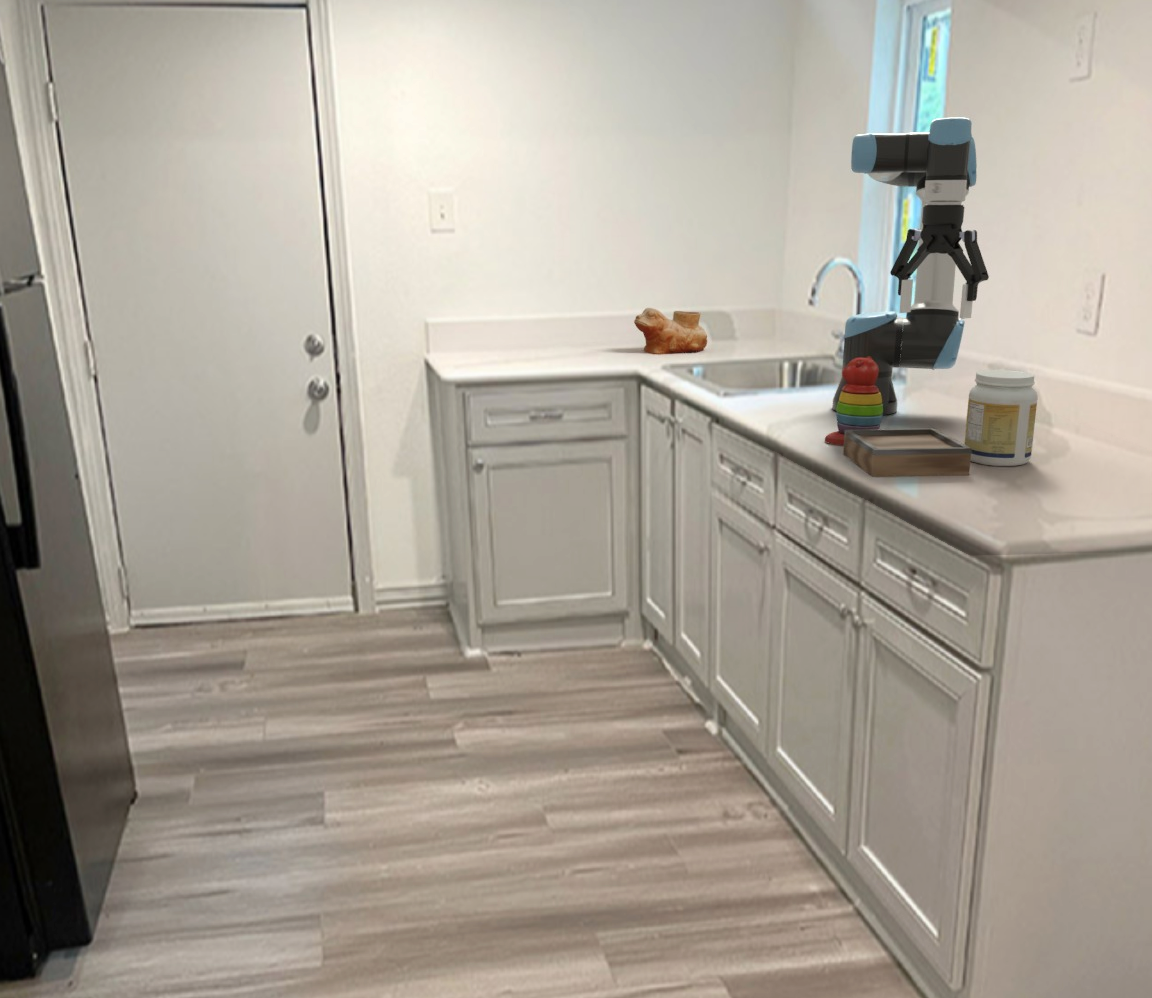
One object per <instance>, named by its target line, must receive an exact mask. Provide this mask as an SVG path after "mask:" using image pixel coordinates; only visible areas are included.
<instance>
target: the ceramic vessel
mask: <svg viewBox="0 0 1152 998" xmlns="http://www.w3.org/2000/svg"><path fill="white" fill-rule="evenodd" d="M700 318H701V313H700V312H697V311H683V310H674V311H673V314H672V319H669V318H667V317H666V316H665V314H663V313H662V312H661V311H660V310H658V309H656V308H653V307H647V308H645V309H644V310H643V311H642V313H641V314H638V315H636V316H635V319H634V321H633V323H634V325H635V327H636V328H637V330H639V331H640V332H642V334H643V336H644V339H645V345H644V347H643V351H644V352H645V353H647V354H651V355H658V356H659V355H660V356H661V355H675V354H678V355H679V354H696V353H697V354H698V353H699V352H700V353H701V352H704V350H705V348H706V346H707V344H708V338H707V337H708V335H707V333H706V331H705V330H704V328H703V327H702V326H701V325H699V323H700Z"/></svg>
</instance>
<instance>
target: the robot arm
mask: <svg viewBox="0 0 1152 998" xmlns="http://www.w3.org/2000/svg"><path fill="white" fill-rule="evenodd" d="M972 133H973V132H972V120H971V119H970V118H967V117H943V118H936V119H933V120H932V121H931V123H930V125H929V132H906V133H900V132H899V133H865V134H856V135H854V137H853V138H852V144H851V157H850V159H851V160H850V164H851V165H850V168H851V170H852V172H853V173H857V174H867V175H868V176H869V177H870V178H871V179H873V180H875V181H877V182H879V183H883V184H886V185H890V186H895V187H911V188H913V187H916V188H915V189H916V191H915V195H916V196H917V197H918V199H919V200H920V201H921V212H920V213H921V214H920V226H919V228H909V229H908V230H907V233H906V239H905V242H904V244H903V245H902V248H901V250H900V252H899V253H898V255H897V258H896V259H895V262H894V263H893V266H892V268H891V269H890V272H889V273H890V275H891V276H894V277H896V278H897V280H898V286H897V287H898V288H897V295H898V296H900V300H899V314H905V313H906V314H905V315H906V316H905V317H898V314H897V312H896V311H893V310H892V311H891V310H887V311H873V312H865V313H860V314H855V315H854V314H853V315H852V316H850V317H849V318H847V319H846V322H845V326H844V333H843V336H842V337H843V340H844V341H843V354H842V355H843V356H842V366H841V367H842V369H841V371H842V370H843V369H844V368H845V367H846V366H847V365H848V364H849V362H850V361H851V360H853V359H855V358H867V357H871V358H872V360H873V361H874V362H875V363H876V364H877V366H878V369H879V373H878V377H877V380H876V382H875V384H874V385H875V386H876V387H877V388H878V390H879V392H880V393H881V397H882V404H883V413H882V414H883V416H885V415H891V414H894V413H897V411H898V399H897V395H896V390H895V388H894V387H895V386H894V382H893V369H894V368H899V369H900V368H901V369H903V368H905V369H923V370H925V369H927V370H928V369H929V370H933V371H934V370H949V369H951V368H953V367H954V366H955V364H956V361H957V359H958V355H959V350H960V346H961V342H962V338H963V337H962V336H963V333H964V327H965V323H966V322H965V321H966V320H964V319H971V318H972V312H973V311H972V310H973V302H974V301H975V302H976V300H977V298H978V286H979V284H980V283H981V282H985V281H989V277H990V275H989V273H988V270H987V267H986V265H985V261H984V258H983V256H982V253H981V250H980V247H979V243H978V231H977V230H975V229H970V230H969V229H967V230H965V231H963V230H962V226H963V223H964V215H965V206H964V204H962V203H964V202H965V201H966V197H967V196H968V195H969V193H970V190H969V189H970V188H972V187H974V186H976V185H977V151H976V142H975V138H974V137H973V135H972ZM961 241H962V242H963V243H964V247H965V251H966V253H967V256H968V257H966V255H965V253H964V248H963V247H962V246H961V244H960V242H961ZM917 245H918V248H917V249H916V247H917ZM915 249H916V252H915V254H913V253H914V251H915ZM912 255H913V256H912ZM956 267H957V269H958V270H959V272H960V273H961V274H962V277H963V278H964V280H965V283H962V286H961V287H962V289H961V298H960V299H961V301H960V309H959V310H958V309H957V307H956V306H954V304H953V301H954V291H955V280H956V279H955V277H956ZM915 272H916V273H915ZM914 273H915V274H916V275H915V287H914V285H913V283H914V279H912V277H911V276H912V275H913V274H914ZM913 287H914V297H913V298H914V301H913V304H912V299H913V298H912V296H913ZM846 384H847V383H846V382H845V380H844V378H843V376H842V375H841V378H840V380H839V383H838V386H837V389H836V391H835V393H834V397H833V398H832V405H831V406H832V407H831V409H832V410H834V411H836V408H837V404H838V401H839V397H840V394H841V392H842V391H843V390H842V388H843V387H844V386H845V385H846Z"/></svg>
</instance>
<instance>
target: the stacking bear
mask: <svg viewBox="0 0 1152 998" xmlns="http://www.w3.org/2000/svg"><path fill="white" fill-rule="evenodd" d="M878 373H879V369H878V366H877V364H876V363H875V362H874V361H873V360H872V358H871V357H867V358H855V359H853V360H851V361H850V362H849V364H848V365H847V366H846V367H845V368H844V369H843V370H842V369H841V377H842V376H843V378H844V380H845V382H846V383H847V384H846V385H845V386H844V387H843V388H842V390H843V391H842V392H841V394H840V397H839V401H838V404H837V408H836V410H835V411H836V412H835V413H836V415H835V416H836V421H837V423H836V425H837V430H838V431H833V432H831V433H829V434H826V436H825V437H824V442H825V443H827V444H830V445H834V446H843V447H844V434H845V430H856V429H881V428H880V427H881V424H882V422H883V421H882V420H883V417H884V415H883V414H882V413H883V404H882V397H881V393H880V392H879V390H878V388H877V387H876V386H875V385H874V384H875V382H876V380H877V377H878Z"/></svg>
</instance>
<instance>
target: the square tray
mask: <svg viewBox="0 0 1152 998" xmlns="http://www.w3.org/2000/svg"><path fill="white" fill-rule="evenodd" d="M964 444H965V443H962V442H961V441H959V440H957V439H955V438H953V437H951V436H950V435H947V434H946V433H944V432H942V431H940V430H938V429H936V428H932V427H931V428H929V427H928V428H927V427H925V428H924V427H923V428H921V427H920V428H879V429H856V430H845V434H844V446H843V448H842V450H843V453H842V454H843V456H845V457H846V458H847V459H848V460H850V461H851V462H852V463H854V464H855V465H857V466H858V467H860V469H862V470H863V471H864V472H866V473H867V474H868V475H870V476H871V477H877V478H879V477H917V476H918V477H923V476H924V477H925V476H926V477H927V476H928V477H929V476H932V477H934V476H938V477H939V476H969V475H970V468H971V461H970V460H971V450H972V448H970V447H968V446H966V445H964Z"/></svg>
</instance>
